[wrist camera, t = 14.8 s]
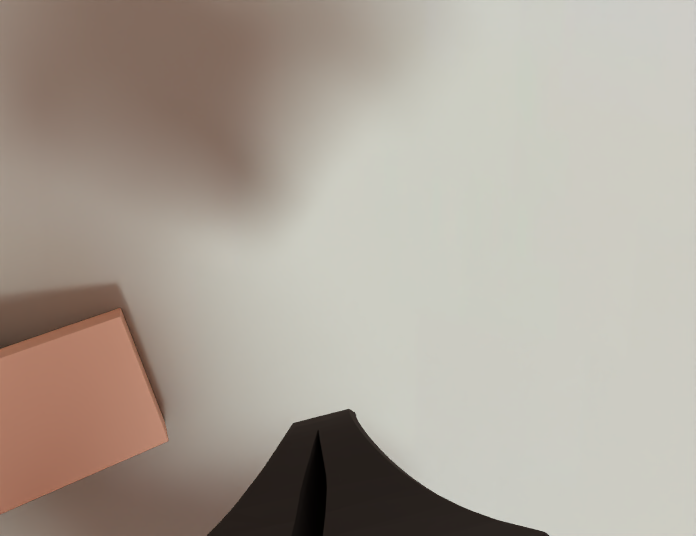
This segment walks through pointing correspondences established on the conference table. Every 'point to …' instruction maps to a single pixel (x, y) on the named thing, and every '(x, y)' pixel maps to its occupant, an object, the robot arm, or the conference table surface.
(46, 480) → the tile
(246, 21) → the conference table surface
